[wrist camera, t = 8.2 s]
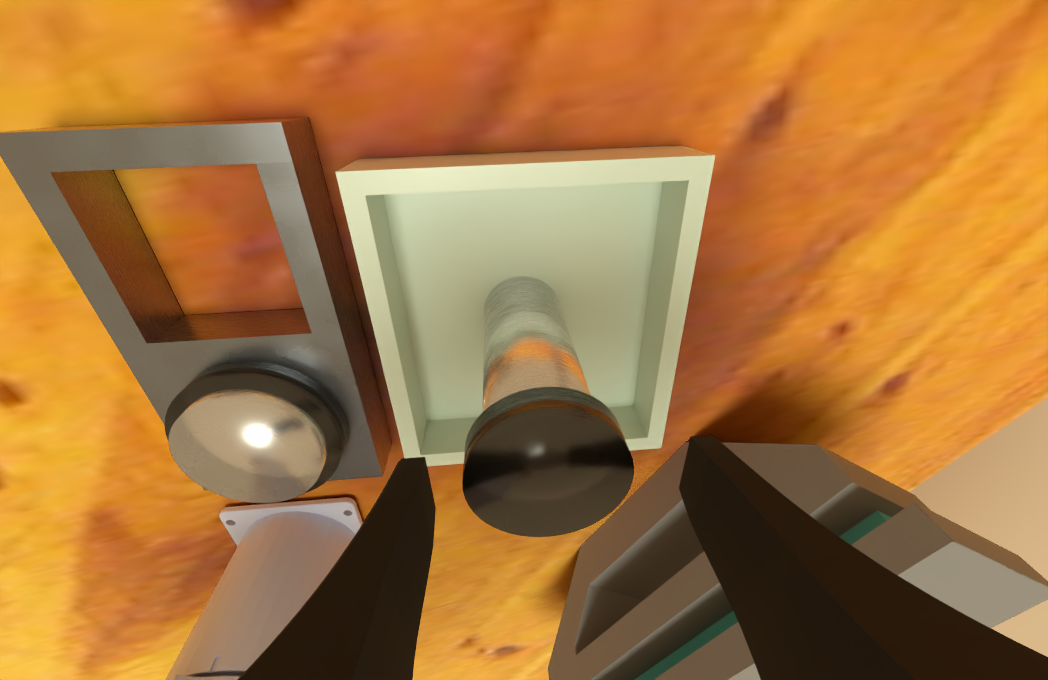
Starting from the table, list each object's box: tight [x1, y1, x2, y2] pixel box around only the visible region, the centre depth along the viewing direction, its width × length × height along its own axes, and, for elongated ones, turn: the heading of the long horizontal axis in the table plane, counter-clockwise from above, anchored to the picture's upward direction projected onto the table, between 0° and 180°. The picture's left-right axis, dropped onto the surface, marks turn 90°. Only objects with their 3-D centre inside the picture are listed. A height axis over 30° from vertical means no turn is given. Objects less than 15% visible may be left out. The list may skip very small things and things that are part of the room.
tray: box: [336, 145, 715, 466], centre depth 19 cm, size 14×13×3 cm
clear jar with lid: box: [463, 276, 634, 537], centre depth 16 cm, size 5×5×10 cm
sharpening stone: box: [548, 442, 1048, 680], centre depth 25 cm, size 25×8×11 cm, turn 149°
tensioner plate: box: [0, 118, 392, 503], centre depth 18 cm, size 16×9×4 cm, turn 2°
